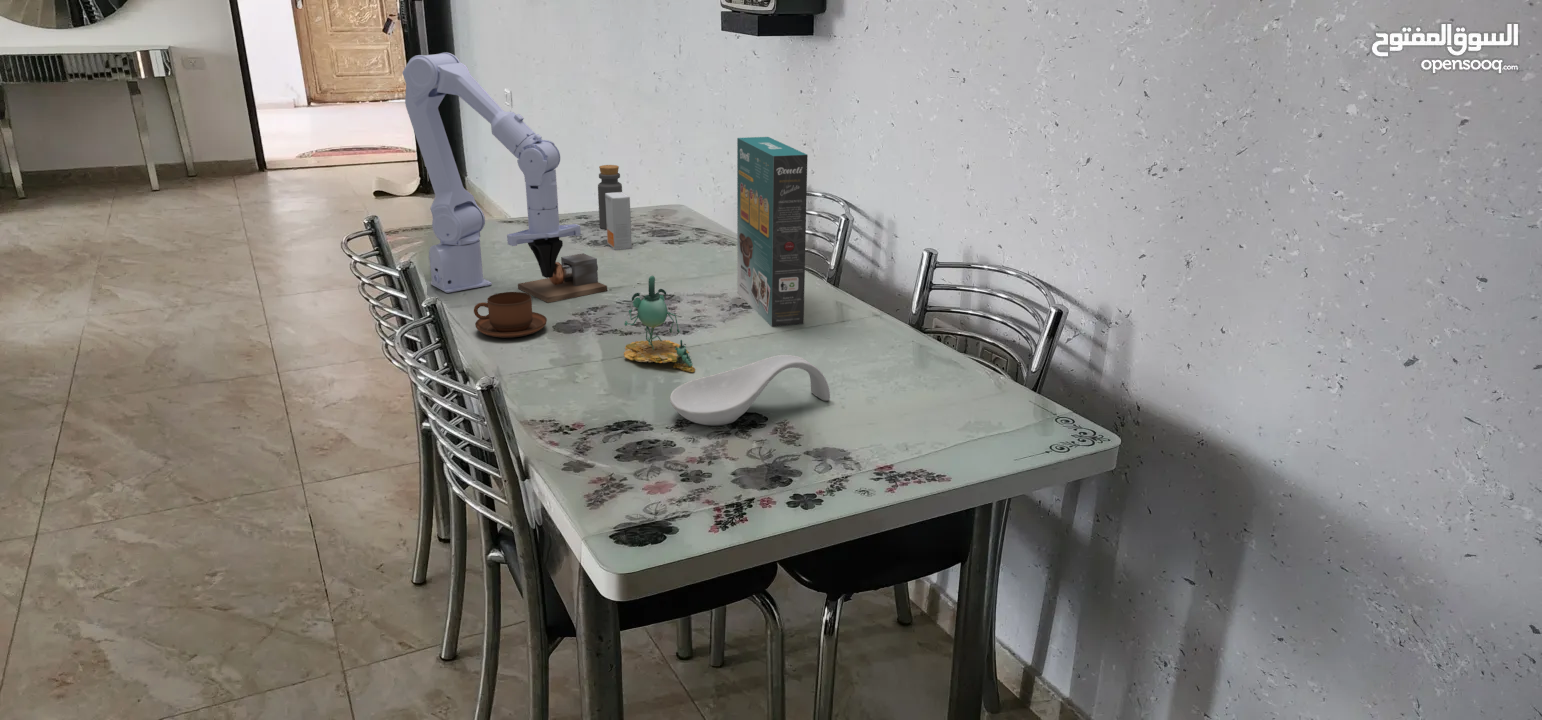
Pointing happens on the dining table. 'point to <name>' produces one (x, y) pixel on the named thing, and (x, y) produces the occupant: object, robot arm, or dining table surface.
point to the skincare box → (618, 220)
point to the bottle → (607, 189)
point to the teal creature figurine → (661, 351)
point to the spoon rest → (738, 390)
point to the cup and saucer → (509, 316)
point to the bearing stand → (568, 281)
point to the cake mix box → (771, 229)
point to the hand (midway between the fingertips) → (547, 276)
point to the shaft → (561, 273)
